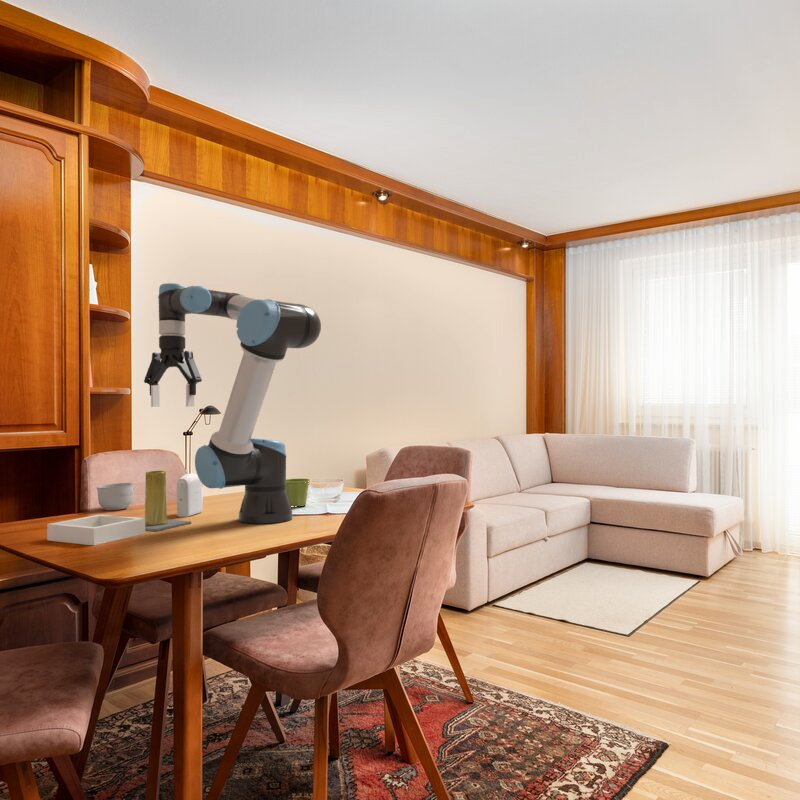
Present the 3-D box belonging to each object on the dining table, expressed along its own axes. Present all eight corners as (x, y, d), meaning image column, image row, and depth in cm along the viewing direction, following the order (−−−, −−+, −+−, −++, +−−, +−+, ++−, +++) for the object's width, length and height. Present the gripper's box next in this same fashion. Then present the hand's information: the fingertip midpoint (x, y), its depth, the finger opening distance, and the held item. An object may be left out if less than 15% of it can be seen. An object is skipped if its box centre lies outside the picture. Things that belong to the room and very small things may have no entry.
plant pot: (277, 508, 218) (277, 481, 218) (287, 504, 228) (287, 478, 228) (305, 509, 217) (305, 481, 217) (314, 504, 226) (314, 478, 226)
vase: (139, 524, 186) (138, 472, 186) (154, 521, 192) (154, 470, 192) (157, 526, 184) (157, 473, 184) (172, 522, 190) (172, 470, 190)
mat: (191, 523, 191) (191, 521, 191) (156, 531, 179) (156, 529, 179) (155, 520, 196) (155, 518, 196) (120, 528, 185) (120, 525, 185)
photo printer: (188, 517, 202) (187, 475, 202) (174, 517, 203) (174, 475, 203) (204, 512, 212) (204, 472, 212) (192, 511, 213) (191, 472, 213)
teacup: (124, 511, 214) (124, 486, 214) (90, 511, 214) (90, 486, 214) (142, 505, 228) (142, 481, 228) (110, 505, 228) (110, 481, 228)
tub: (145, 533, 176) (145, 518, 176) (94, 545, 162) (94, 528, 162) (100, 529, 183) (100, 514, 183) (47, 540, 168) (47, 524, 168)
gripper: (213, 335, 203) (213, 406, 203) (150, 338, 214) (150, 406, 214) (196, 332, 197) (196, 406, 196) (131, 336, 207) (131, 406, 207)
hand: (172, 406), depth 205 cm, fingers open, 13 cm apart
